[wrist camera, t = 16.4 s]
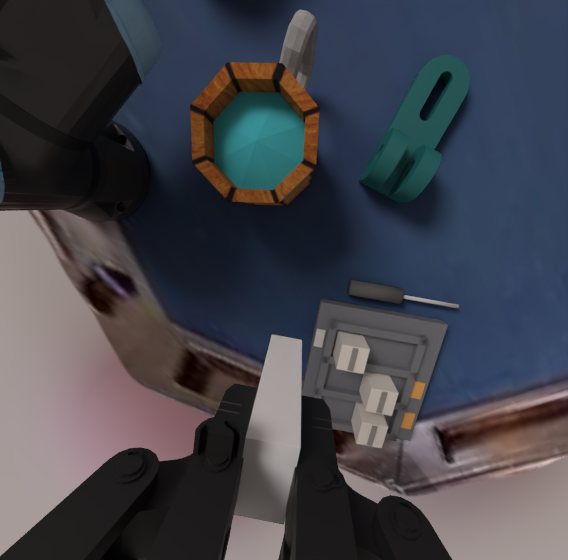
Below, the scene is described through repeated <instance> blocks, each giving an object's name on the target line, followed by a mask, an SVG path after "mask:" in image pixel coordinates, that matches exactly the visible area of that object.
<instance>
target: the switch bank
mask: <svg viewBox="0 0 568 560" xmlns="http://www.w3.org/2000/svg"><path fill="white" fill-rule="evenodd" d="M447 327H448V325H447V324H446V323H445V322H444V321H442V320H438V319H433V318H427V317H421V316H416V315H410V314H405V313H399V312H394V311H388V310H383V309H377V308H371V307H366V306H360V305H355V304H349V303H344V302H338V301H333V300H327V299H321V298H320V303H319V308H318V313H317V317H316V322H315V327H314V332H313V337H312V341H311V346H310V351H309V356H308V361H307V365H306V370H305V375H304V380H303V385H302V389H301V395H303V396H308V397H314V398H319V399H324V401H325V402H326V404H327V405H328V407H329V409H330V413H331V422H332V428H333V429H336V430H341V431H346V432H352V433H354V431H353V427H352V422H351V419H352V415H353V412H354V408H355V404H356V402H359V403H363V402H362V399H361V395H360V392H359V389H360V385H361V382H362V378H363V374H360V373H355V372H349V371H344V370H339V369H336V365H335V360H334V356H333V350H334V346H335V341H336V337H337V333H338V330H340V331H346V332H351V333H357V334H362V335H363V336H364V338H365V340H366V342H367V344H368V346H369V348H370V351H369V355H368V359H367V363H366V366H365V370H366V371H371V372H377V373H382V374H388V375H390V377H391V379H392V381H393V383H394V385H395V387H396V389H397V391H398V393H399V394H398V397H397V400H396V404H395V407H394V410H393V413H392V416H389V415H384V414H383V415H384V417H385V420H386V422H387V425H388V430H387V433H386V436H385V439H388V440H393V441H396V439H397V438H399V439H404V440H409V441H410V438H411V435H412V432H413V429H414V426H415V423H416V420H417V417H418V414H419V411H420V408H421V405H422V402H423V399H424V396H425V393H426V390H427V387H428V384H429V381H430V378H431V375H432V372H433V369H434V366H435V363H436V360H437V357H438V354H439V351H440V348H441V345H442V342H443V339H444V336H445V333H446V330H447Z"/></svg>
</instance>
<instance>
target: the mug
mask: <svg viewBox="0 0 568 560" xmlns="http://www.w3.org/2000/svg"><path fill="white" fill-rule="evenodd" d="M317 31H318V27H317V22H316V20H315V17H314V16H313V15H312V14H310V13H309V12H308V11H305V10H298V11H297V12H296V13H295V15H294V17H293V19H292V21H291V22H290V24H289V27H288V30H287V33H286V37H285V40H284V43H283V48H282V53H281V58H280V62H279V63H226V64H225V66H224V67H223V68H222V69H221V70H220V71H219V73H218V74H217V75H216V76H215V77H214V79H213V80H212V81H211V82H210V83H209V84H208V86H207V87H206V88H205V89H204V90H203V91H202V93H201V94H200V95H199V96H198V97H197V98H196V100H195V101H194V102H193V103H192V104H191V105H190V112H191V140H192V163H193V164H194V165H195V166H196V167H197V168H198V169H199V170H200V172H201V173H202V174H203V175H204V176H205V177H206V178H207V179H208V180H209V181H210V182H211V183H212V184H213V186H214V187H215V188H216V189H217V190H218V191H219V192H220V193H221V194H222V195H223V196H224V197H225V199H226V200H227V201H229V202H243V203H252V204H253V205H278V206H287V205H288V204H289V203H290V202H291V201H292V200H293V199H294V198H295V197H296V196H297V195H298V194H299V193H300V192H301V191H302V190H303V189H304V188H306V187H307V186H308V185H309V184H310V183H311V182H312V176H313V170H314V168H315V167H316V158H317V142H318V126H319V109H320V108H319V107H318V106H317V104H316V103H315V102H314V101H313V100H312V98H311V97H310V96H309V95H308V93H307V92H306V91H305V90H306V88H307V85H308V83H309V80H310V77H311V74H312V69H313V65H314V57H315V45H316V38H317Z"/></svg>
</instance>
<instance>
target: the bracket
mask: <svg viewBox="0 0 568 560" xmlns="http://www.w3.org/2000/svg"><path fill="white" fill-rule="evenodd" d="M438 78H441V79H443V80H444V82H445V87H444V89H443V91H442V93H441V94H440V96H439V98H438V100H437V102H436V103H435V105H434V107H433V109H432V110H431V112H430V114H429V116H428V117H427V119H426V121H423V120H422V119H421V118H420V116H419V113H420V111H421V109H422V107H423V105H424V103H425V102H426V100H427V98H428V96H429V95H430V93H431V91H432V89H433V87H434V86H435V84H436V82H437V80H438ZM469 83H470V78H469V72H468V70H467V67H466V66H465V64H464V63H463V62H462V61H461V60H460V59H458V58H456V57H454V56H449V55H444V56H439V57H436V58H434V59H432V60H431V61H429V62H428V63H427V64H426V65H425V66H424V67H423V68H422V69H421V71H420V72H419V73H418V74H417V75H416V77H415V78H414V80H413V82H412V84H411V86H410V87H409V89H408V91H407V93H406V95H405V97H404V99H403V100H402V102H401V104H400V106H399V108H398V110H397V112H396V113H395V115H394V117H393V119H392V121H391V123H390V124H389V126H388V128H387V130H386V132H385V134H384V136H383V137H382V139H381V141H380V143H379V145H378V147H377V149H376V150H375V152H374V154H373V156H372V158H371V160H370V161H369V163H368V165H367V167H366V169H365V171H364V173H363V174H362V176H361V178H360V180H359V182H360V183H362V184H364V185H366V186H368V187H370V188H372V189H373V190H375V191H377V192H379V193H381V194H383V195H385V196H387V197H388V198H390V199H392V200H394V201H396V202H398V203H401V202H410V201H412V200H414V199H415V198H416V197H417V196H418V195H419V194H420V193H421V192H422V191H423V190H424V189H425V187H426V186H427V185H428V183H429V182H430V181H431V179H432V178H433V176H434V174H435V173H436V171H437V169H438V167H439V164H440V162H441V158H442V154H441V153H439V152H438V151H436V150H434V149H435V147H436V146H437V144H438V142H439V141H440V139H441V137H442V136H443V134H444V132H445V130H446V129H447V127H448V125H449V124H450V122H451V120H452V119H453V117H454V115H455V114H456V112H457V110H458V108H459V107H460V105H461V103H462V102H463V100H464V98H465V96H466V94H467V92H468V89H469Z"/></svg>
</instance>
